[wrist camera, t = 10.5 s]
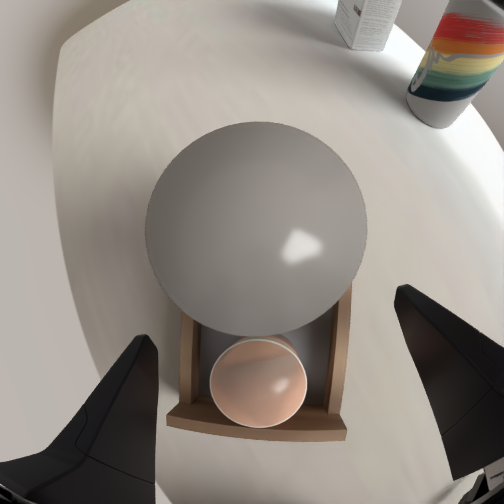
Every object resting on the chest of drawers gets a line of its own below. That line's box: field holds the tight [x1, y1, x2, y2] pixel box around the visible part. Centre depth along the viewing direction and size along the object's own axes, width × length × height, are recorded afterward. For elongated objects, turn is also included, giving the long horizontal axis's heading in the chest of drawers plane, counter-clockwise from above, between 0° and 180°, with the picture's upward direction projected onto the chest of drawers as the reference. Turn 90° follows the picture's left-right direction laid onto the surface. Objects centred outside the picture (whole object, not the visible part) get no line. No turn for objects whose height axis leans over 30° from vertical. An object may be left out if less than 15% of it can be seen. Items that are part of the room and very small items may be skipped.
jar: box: [210, 334, 307, 428], centre depth 16 cm, size 5×5×5 cm
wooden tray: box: [166, 282, 352, 442], centre depth 17 cm, size 15×11×5 cm
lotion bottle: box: [406, 0, 504, 129], centre depth 11 cm, size 6×6×20 cm
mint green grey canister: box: [145, 122, 367, 337], centre depth 13 cm, size 6×6×13 cm
